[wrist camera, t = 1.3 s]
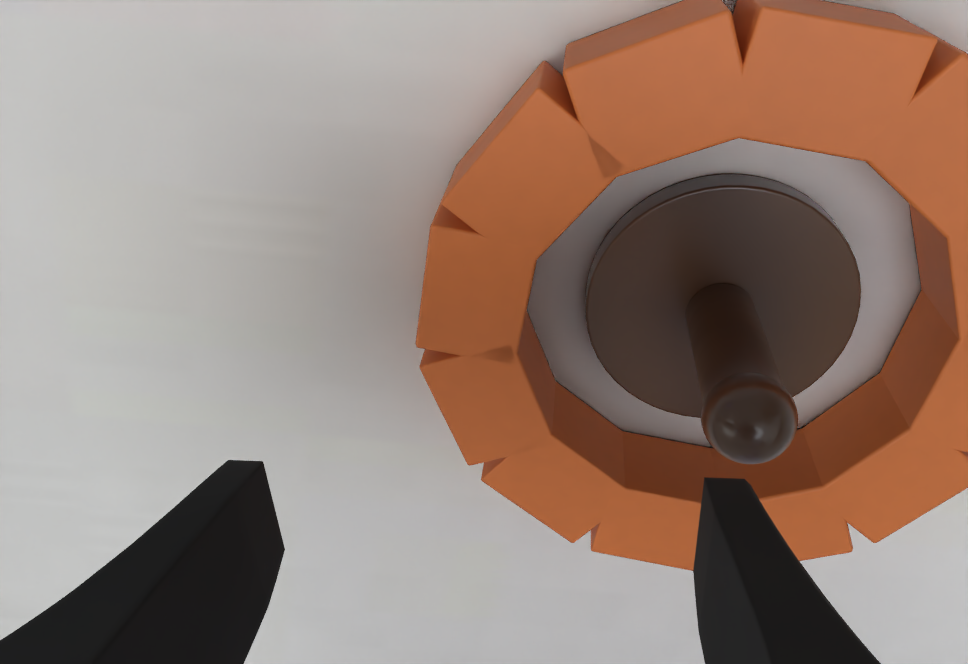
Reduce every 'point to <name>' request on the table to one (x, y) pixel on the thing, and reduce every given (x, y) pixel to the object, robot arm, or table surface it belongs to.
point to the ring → (664, 136)
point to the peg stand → (724, 306)
